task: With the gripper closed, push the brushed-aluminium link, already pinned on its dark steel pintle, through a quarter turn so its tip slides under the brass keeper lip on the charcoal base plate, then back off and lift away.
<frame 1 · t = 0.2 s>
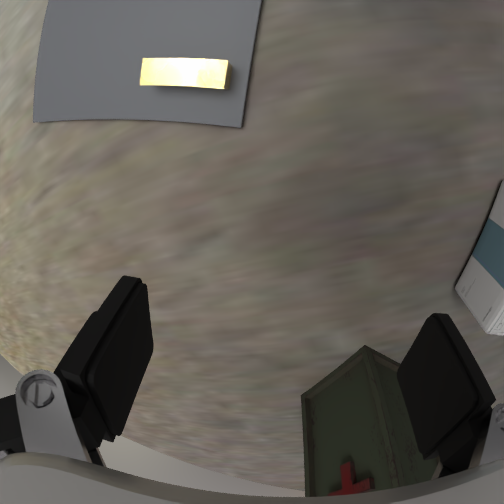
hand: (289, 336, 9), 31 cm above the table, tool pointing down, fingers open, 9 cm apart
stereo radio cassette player: (488, 238, 40), on the table
base plate: (136, 17, 28), on the table
keeper: (184, 75, 32), resting on base plate
first aid box: (361, 385, 57), on the table
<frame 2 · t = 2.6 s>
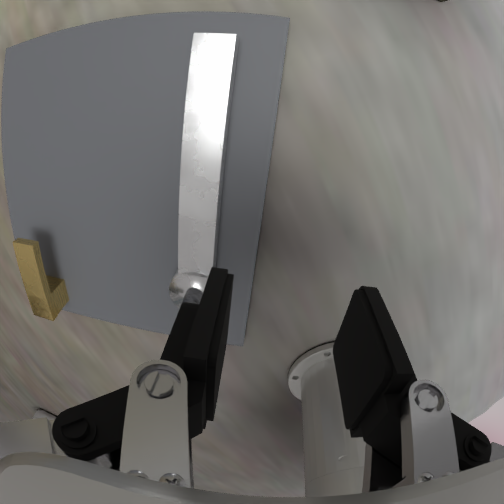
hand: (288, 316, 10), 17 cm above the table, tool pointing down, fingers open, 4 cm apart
link: (197, 193, 22), point 4 cm above the table, hinge at -90.0°
base plate: (111, 186, 26), on the table
keeper: (56, 248, 30), resting on base plate
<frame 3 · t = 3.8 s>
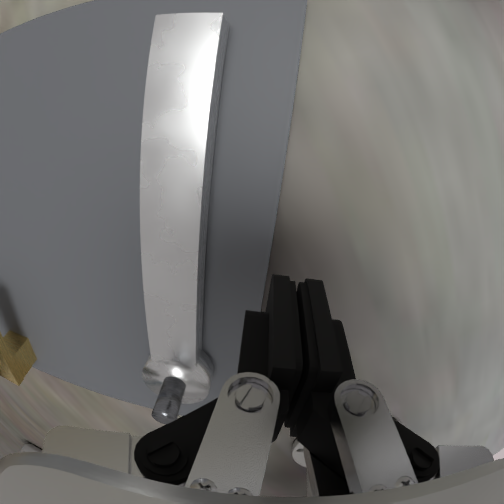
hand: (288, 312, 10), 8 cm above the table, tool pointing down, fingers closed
link: (165, 268, 14), point 4 cm above the table, hinge at -90.0°
base plate: (65, 237, 19), on the table
keeper: (17, 301, 23), resting on base plate
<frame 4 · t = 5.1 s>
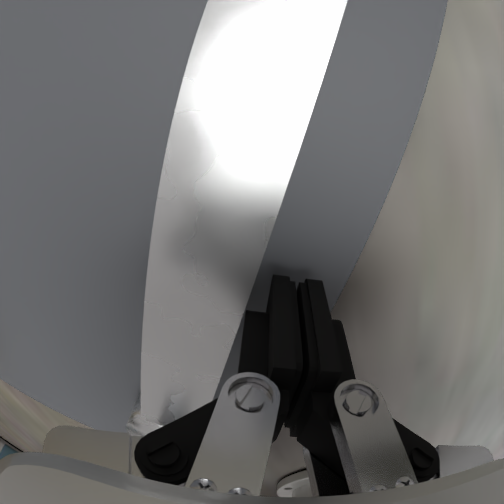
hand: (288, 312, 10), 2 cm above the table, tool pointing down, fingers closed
link: (185, 333, 9), point 4 cm above the table, hinge at -89.8°, touching gripper
base plate: (32, 235, 12), on the table
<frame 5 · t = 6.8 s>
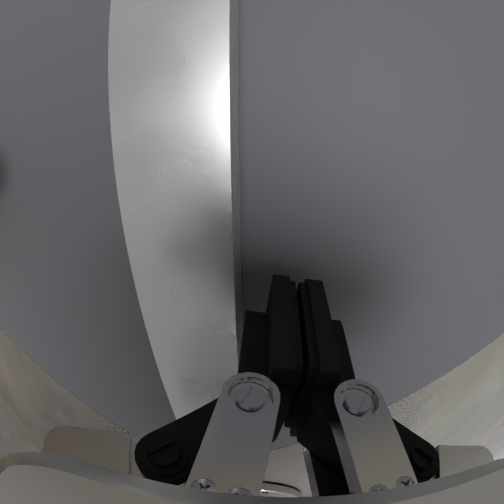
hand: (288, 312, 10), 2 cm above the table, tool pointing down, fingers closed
link: (186, 345, 9), point 4 cm above the table, hinge at -39.7°, touching gripper
base plate: (206, 207, 11), on the table
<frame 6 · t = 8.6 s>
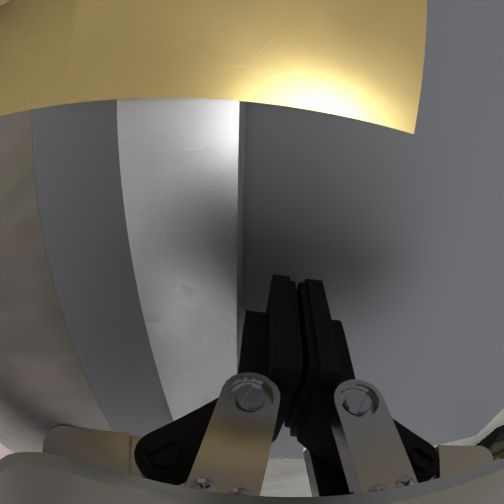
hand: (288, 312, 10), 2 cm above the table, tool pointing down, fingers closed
link: (186, 344, 9), point 4 cm above the table, hinge at 4.4°, touching gripper, keeper
base plate: (402, 293, 13), on the table
mechanical leg: (479, 448, 24), on the table
keeper: (248, 58, 9), resting on base plate
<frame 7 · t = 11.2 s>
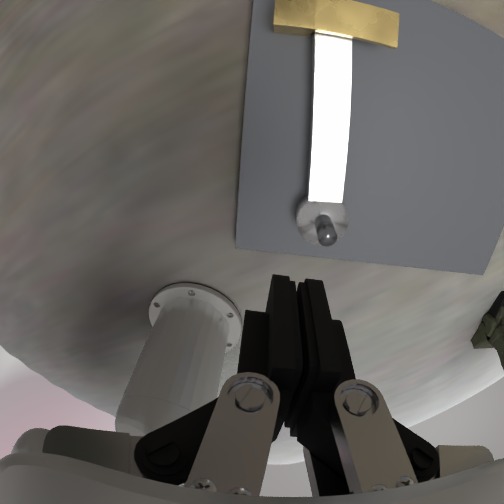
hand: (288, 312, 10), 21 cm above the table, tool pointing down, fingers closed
link: (332, 116, 22), point 4 cm above the table, hinge at 4.4°
base plate: (409, 130, 25), on the table
mechanical leg: (492, 321, 37), on the table
keeper: (341, 30, 21), resting on base plate
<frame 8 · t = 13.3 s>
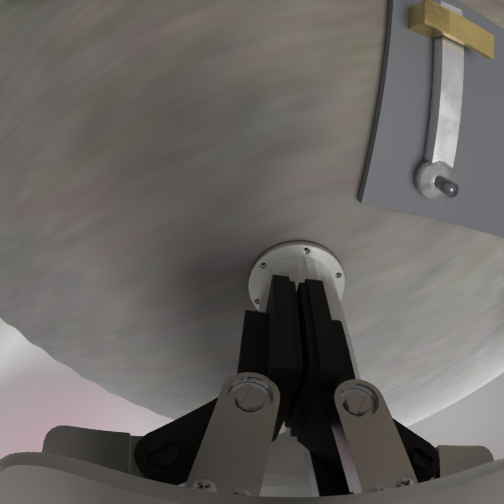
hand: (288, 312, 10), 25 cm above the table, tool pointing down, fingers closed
link: (453, 99, 23), point 4 cm above the table, hinge at 4.4°
base plate: (485, 121, 27), on the table
keeper: (446, 39, 23), resting on base plate
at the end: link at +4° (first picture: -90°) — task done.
